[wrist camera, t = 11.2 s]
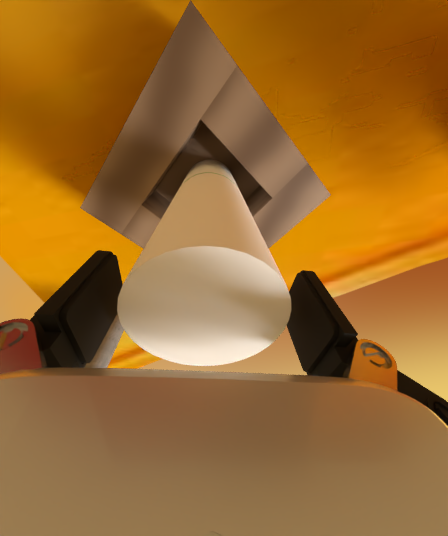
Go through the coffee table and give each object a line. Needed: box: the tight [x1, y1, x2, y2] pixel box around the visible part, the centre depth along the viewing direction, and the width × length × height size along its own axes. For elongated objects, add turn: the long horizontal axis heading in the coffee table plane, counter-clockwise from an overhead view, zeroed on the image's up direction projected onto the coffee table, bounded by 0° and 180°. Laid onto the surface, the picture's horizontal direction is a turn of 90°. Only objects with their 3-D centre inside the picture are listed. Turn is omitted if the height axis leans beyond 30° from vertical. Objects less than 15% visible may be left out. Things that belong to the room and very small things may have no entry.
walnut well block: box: [80, 0, 330, 248], centre depth 26 cm, size 21×21×8 cm
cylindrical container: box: [117, 159, 291, 366], centre depth 19 cm, size 7×7×25 cm
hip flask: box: [84, 313, 124, 368], centre depth 36 cm, size 16×4×20 cm, turn 129°
